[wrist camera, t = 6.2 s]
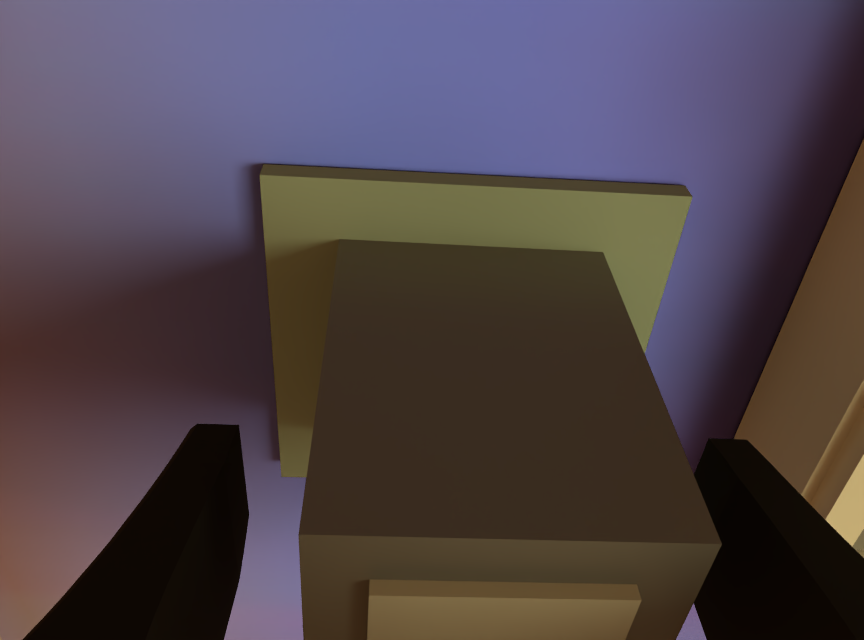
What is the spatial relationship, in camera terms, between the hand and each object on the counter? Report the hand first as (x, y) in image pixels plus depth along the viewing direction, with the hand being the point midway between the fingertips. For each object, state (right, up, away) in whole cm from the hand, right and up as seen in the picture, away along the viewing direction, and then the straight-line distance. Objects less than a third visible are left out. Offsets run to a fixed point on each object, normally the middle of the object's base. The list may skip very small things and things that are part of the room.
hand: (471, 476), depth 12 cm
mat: (0, +2, +3) cm, 3 cm away
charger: (0, +2, +2) cm, 3 cm away
